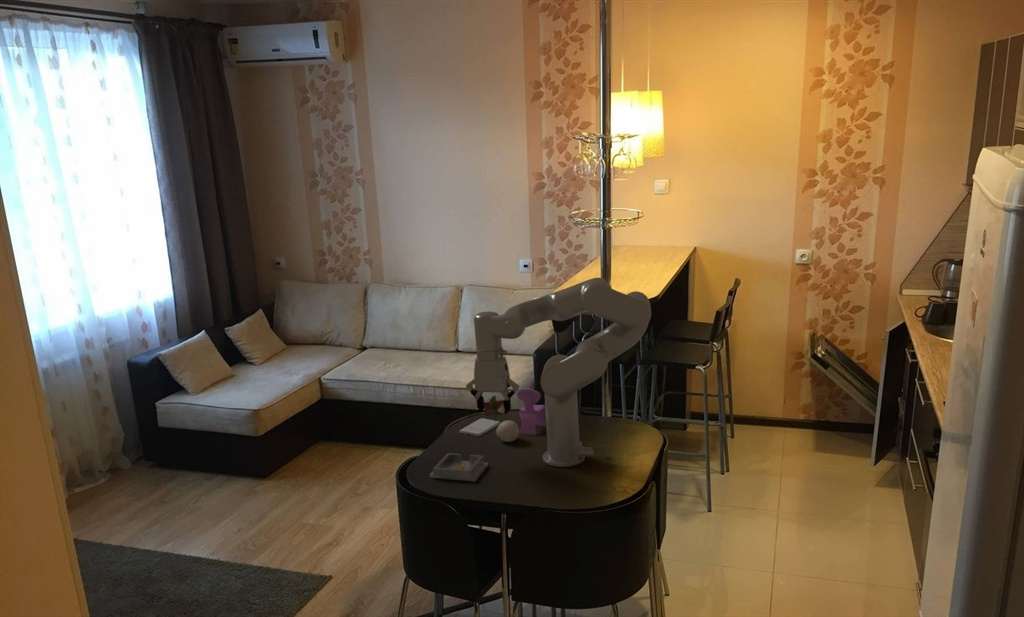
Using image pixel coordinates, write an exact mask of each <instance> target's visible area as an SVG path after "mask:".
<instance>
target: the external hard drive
mask: <svg viewBox="0 0 1024 617" xmlns="http://www.w3.org/2000/svg"><path fill="white" fill-rule="evenodd" d="M500 424H501V422H500V421H499V420H496V421H495V420H494V419H489V418H488V419H487V418H484V417H483V418H479V419H478V420H475V421H473V422H472V423H469V425H467V426H465V427H463V428H462V429H460V430H458V432H459V434H462V433H463V434H462V435H467V434H468V435H469V434H470V436H472V435H474V437H478V436H480V437H482V436H483V435H485V434H487V433H488V432H490V431H491V430H493V429H495V428H498V426H499V425H500ZM484 433H485V434H484Z"/></svg>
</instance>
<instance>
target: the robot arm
mask: <svg viewBox="0 0 1024 617" xmlns="http://www.w3.org/2000/svg"><path fill="white" fill-rule="evenodd" d="M588 312H589V313H590V314H593V315H595V316H597V317H599V318H602V319H604V320H606V321H609V322H612V324H610V325H609V326H608V327H606V328H604V329H602V330H601V331H599V332H597V333H595V334H594V335H592V336H590V337H589V338H586V339H585V340H583V341H581V342H580V343H579V344H578V345H577V346H576V349H575V352H574V353H572V354H571V355H569V356H567V355H565V354H556V355H553V356H551V357H550V358H549V359H548V360H547V361H546V362H545V364H544V367H543V369H542V372H541V377H540V387H541V389H542V392H543V393H544V405H545V412H544V413H545V424H546V426H545V427H546V431H545V432H546V444H547V445H546V446H547V451H545V452H544V453H543V454H542V461H543V463H545V464H547V465H549V466H553V467H557V468H567V467H574V466H578V465H579V464H582V463H583V462H584V461H585V459H586V457H594V456H595V451H594V450H593V449H592V447H589V446H586V447H585V446H584V445H583V442H582V441H580V430H579V427H580V426H579V425H580V424H579V410H578V409H579V408H578V405H579V402H578V391H579V390H581V389H582V388H585V387H586V386H588V385H589V384H592V383H593V382H595V381H597V380H598V379H599V378H601V377H602V376H603V375H604V374H605V373H606V370H607V367H608V366H609V365H608V363H609V362H611V361H612V360H614V359H615V358H617V357H618V356H621V355H622V354H623V353H625V352H626V351H628V350H630V349H631V348H632V347H634V346H635V345H636V344H637V343H638V342H639V341H640V340H641V339H642V337H643V336H644V335H645V333H646V331H647V329H648V326H649V323H650V320H651V318H652V307H651V302H650V299H649V297H648V296H647V295H646V294H645V293H643V292H641V291H637V290H636V291H631V292H628V293H627V294H625V293H623V292H621V291H619V290H616V289H613V288H612V286H611V284H610V283H609V282H608V281H607V280H606V279H605V278H602V277H592V278H591V279H590V278H589V279H588V280H587V279H586V280H584V281H582V282H579V283H576V284H574V285H572V286H568V287H566V288H563V289H560V290H557V291H554V292H552V293H547V294H545V295H541V296H538V297H535V298H532V299H528V300H526V301H523V302H521V303H518V304H516V305H514V306H511V307H509V308H508V309H506V311H504V313H503V314H499V313H497V312H495V311H489V310H488V311H482V312H478V313H476V314H475V315H474V317H473V326H474V327H473V328H474V336H475V349H476V358H475V360H474V369H473V379H472V380H471V381H469V382H468V383H467V384H466V385H465V388H466V389H467V390H468V391H469V392H470V394H471V395H472V396H473V397H474V400H476V407H477V409H478V413H482V412H483V411H485V407H484V404H483V402H484V403H485V400H484V399H485V397H484V396H483V393H499V394H500V393H501V395H502V397H503V400H504V408H505V411H504V413H507V414H508V413H509V411H511V409H512V405H511V404H512V402H511V398H512V397H513V396H514V395H515V394H516V393H517V392H518V390H519V389H520V385H519V384H518V383H517V382H515V381H514V380H512V379H511V375H510V370H509V365H508V361H507V358H506V356H507V355H508V351H507V349H506V350H505V349H504V347H503V345H502V344H503V343H502V339H507V340H515V339H517V338H520V337H521V336H522V335H523V334H524V332H525V330H526V328H528V327H531V326H534V325H537V324H540V323H544V322H546V321H558V322H565V321H566V320H570V319H572V318H575V317H577V316H580V315H583V314H586V313H588ZM510 387H511V388H512V389H511V390H509V388H510Z"/></svg>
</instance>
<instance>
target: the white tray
mask: <svg viewBox="0 0 1024 617" xmlns="http://www.w3.org/2000/svg"><path fill="white" fill-rule="evenodd" d="M468 459H469V460H462V453H453V452H451V453H450V452H448V453H446V454H445V456H444V457H442V458H441V459H440V461H438V462H437V464H436V465H435V466H434V467H432V471H431V472H430V473H429V479H440V480H451V481H452V480H453V481H454V480H455V481H462V482H464V481H465V482H476V481H477V480H478V479H479V477H480V476H481V475H482V474H483V473H484V471H485V470H486V469H487V468H488V466H489V463H488V462H486V461H485V456H484V455H480V454H470V455H469V458H468Z"/></svg>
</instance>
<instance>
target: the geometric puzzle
mask: <svg viewBox="0 0 1024 617" xmlns="http://www.w3.org/2000/svg"><path fill="white" fill-rule="evenodd" d="M504 400H505V399H500V400H497V395H496V394H495V395H493V396H492V397H490V398H488V399H487V400H484V402H483V404H484V408H485V409H484V412H483V413H484V414H485V416H486V417H490V420H494V421H499V420H498V419H500V418H502V415H503V416H506V415H507V414H508V413H504V411H505V408H504ZM491 416H492V417H493V418H491Z"/></svg>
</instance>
